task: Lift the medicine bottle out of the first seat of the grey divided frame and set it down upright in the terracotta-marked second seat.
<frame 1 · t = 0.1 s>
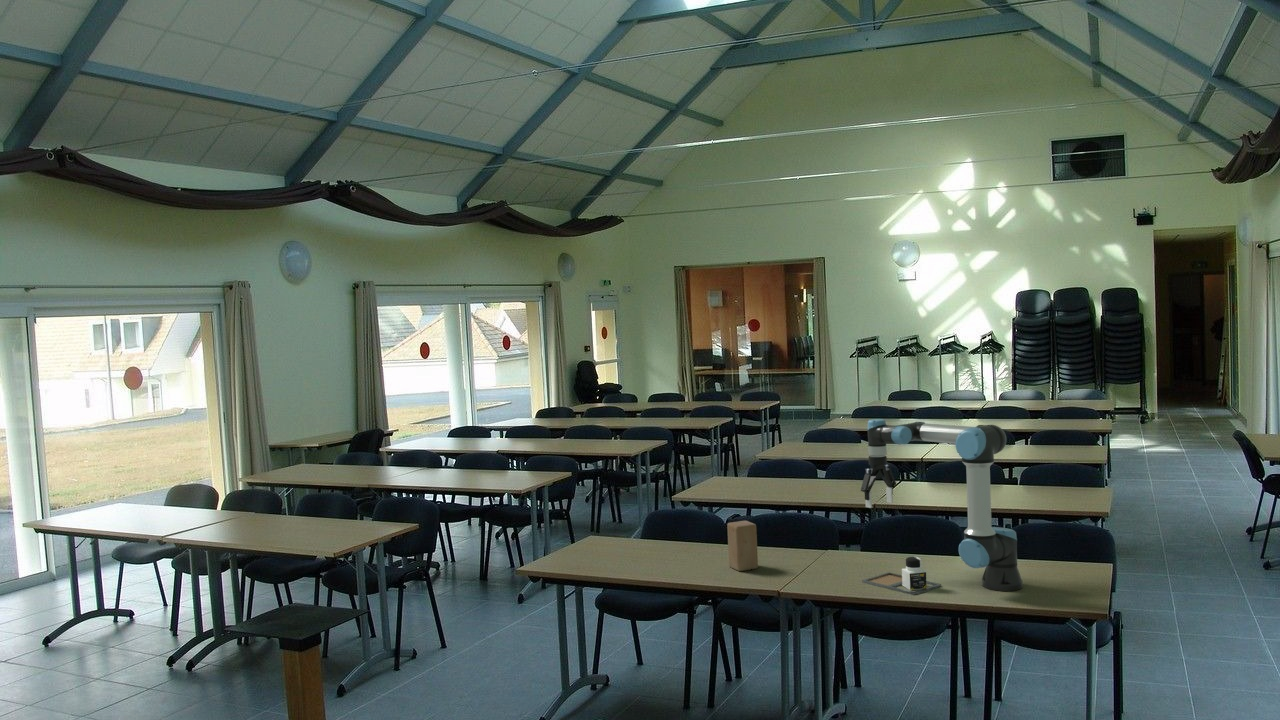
hand: (879, 505, 416), 28 cm above the table, fingers open, 13 cm apart
wooden block: (743, 568, 430), on the table
medicine bottle: (914, 587, 389), resting in grey divided frame
grey divided frame: (901, 584, 395), on the table
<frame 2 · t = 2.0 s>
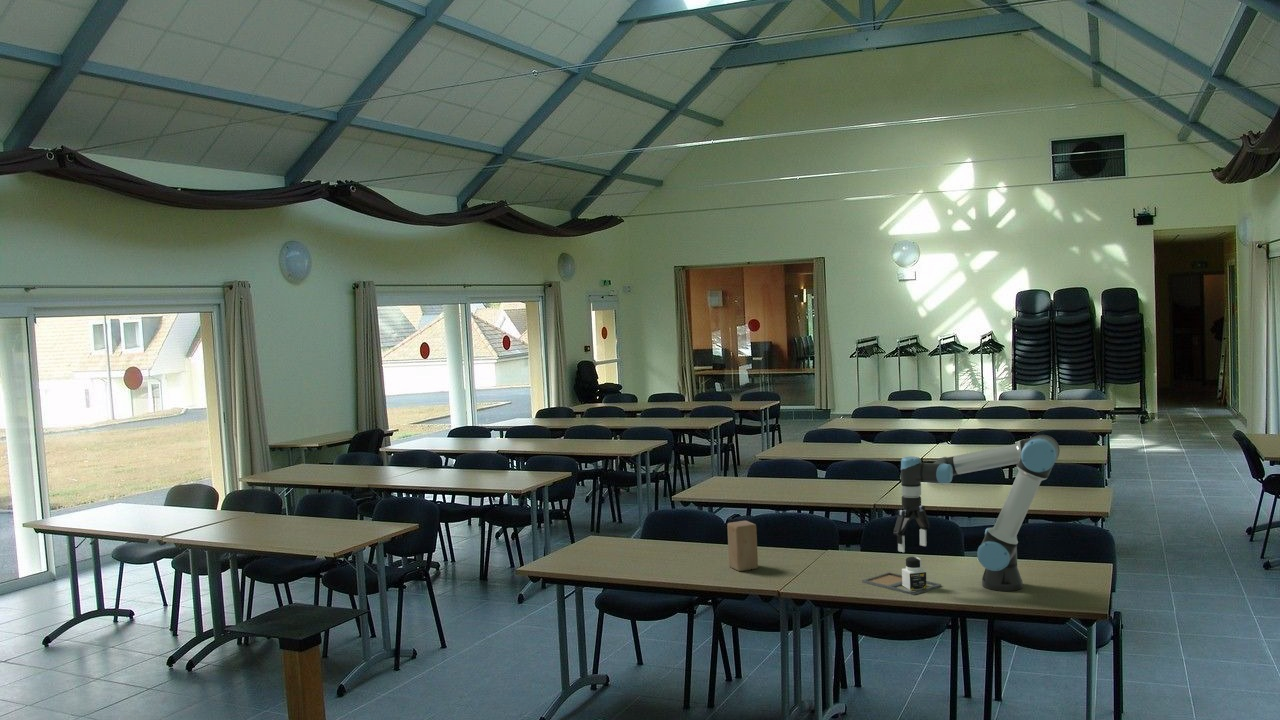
hand: (912, 548, 389), 16 cm above the table, fingers open, 13 cm apart
nothing on the table moved.
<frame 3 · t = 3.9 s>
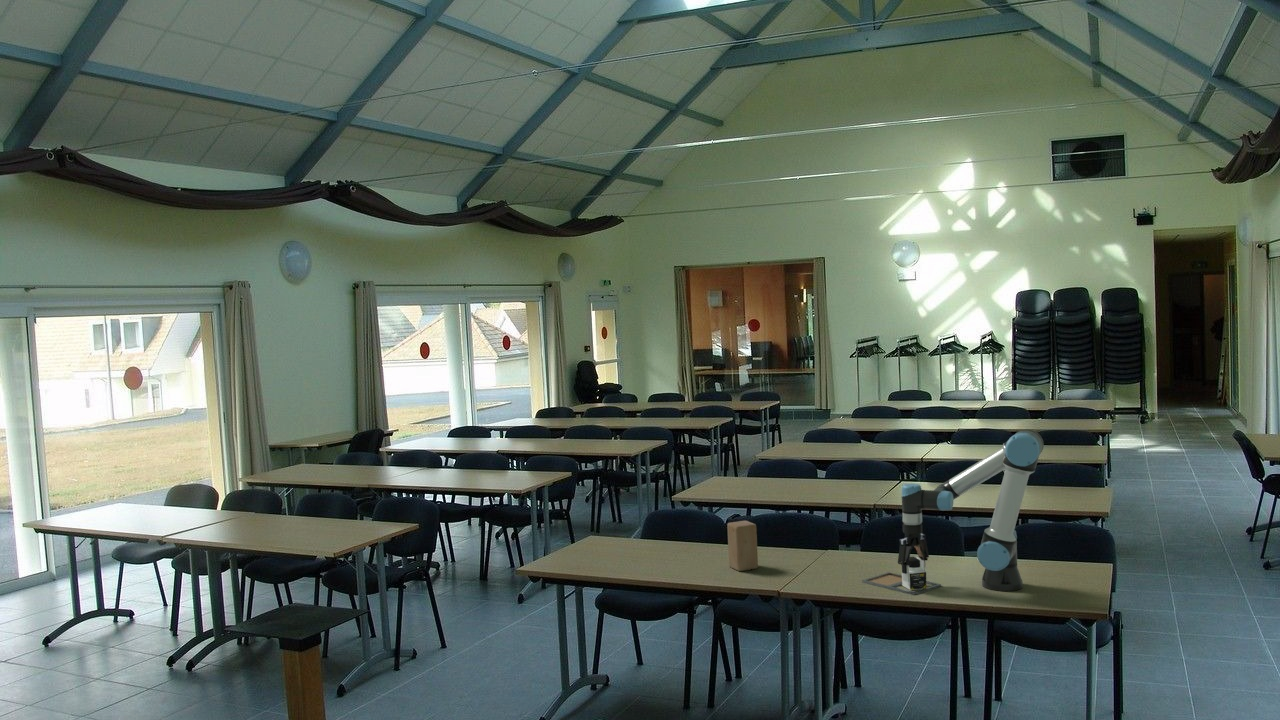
hand: (914, 578, 389), 4 cm above the table, fingers closed on medicine bottle, 9 cm apart
medicine bottle: (914, 587, 389), resting in grey divided frame, touching gripper
everything else where it was.
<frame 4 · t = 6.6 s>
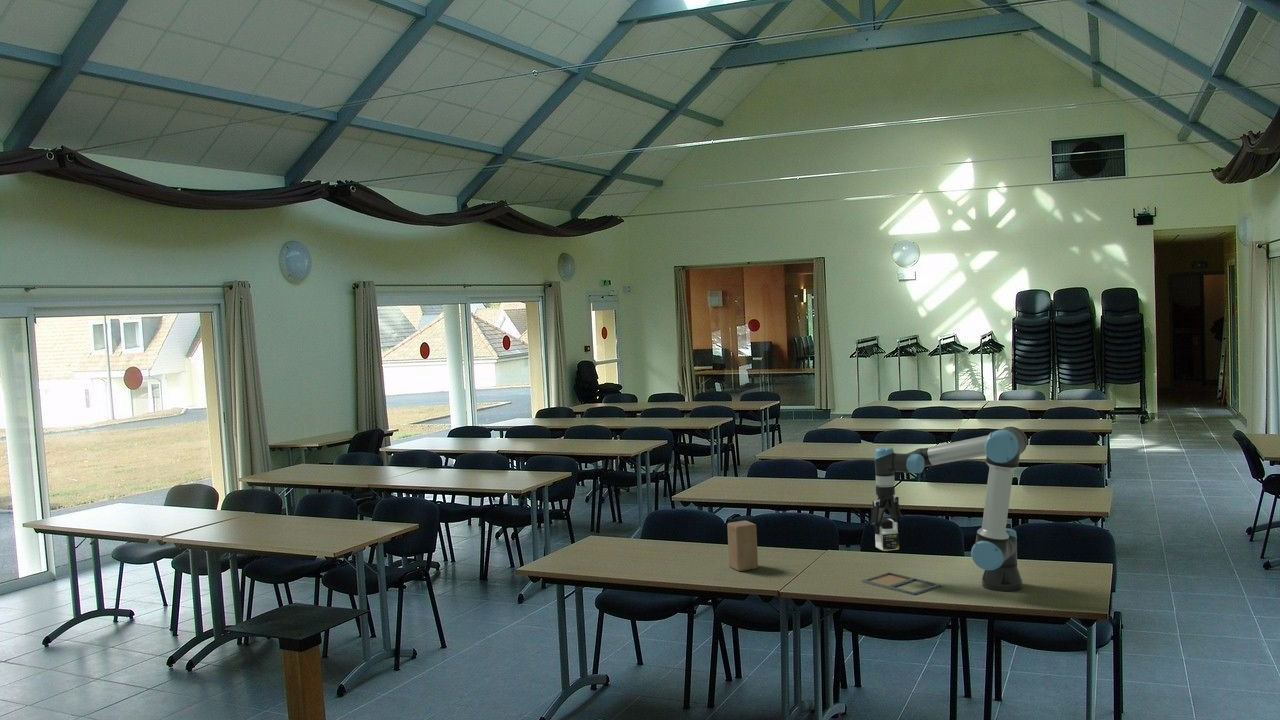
hand: (886, 539, 399), 17 cm above the table, fingers closed on medicine bottle, 9 cm apart
medicine bottle: (887, 548, 399), point 13 cm above the table, touching gripper
everything else where it was.
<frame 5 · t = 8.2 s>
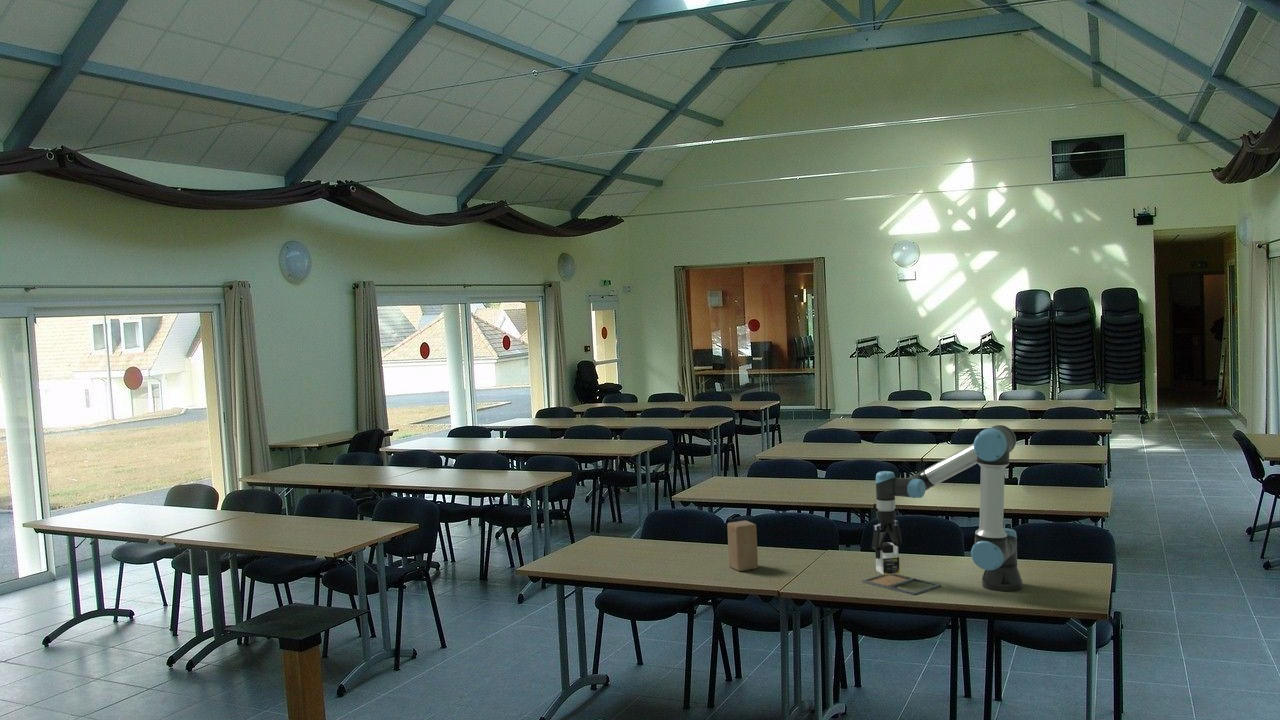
hand: (887, 563, 399), 7 cm above the table, fingers closed on medicine bottle, 9 cm apart
medicine bottle: (887, 572, 400), point 3 cm above the table, touching gripper
everything else where it was.
when the fingers open (5 cm above the table, at t = 9.6 s): medicine bottle stays where it is, resting on grey divided frame.
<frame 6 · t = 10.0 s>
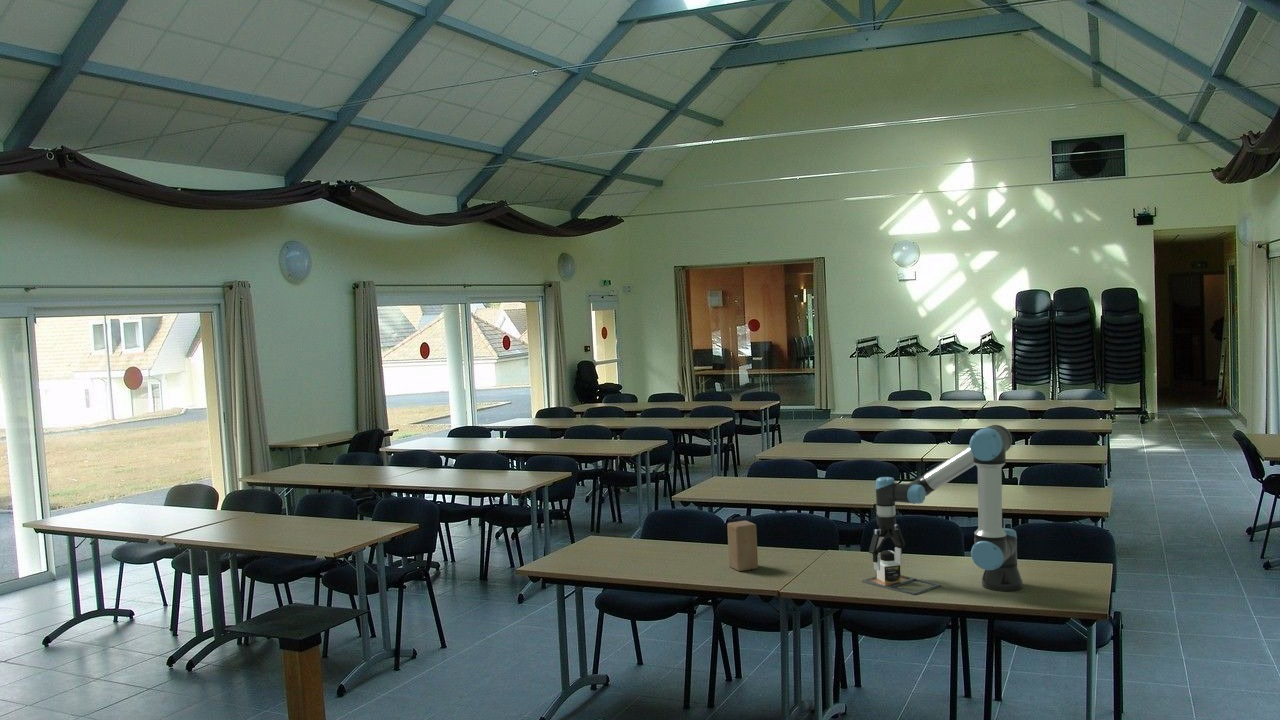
hand: (887, 566, 399), 6 cm above the table, fingers open, 13 cm apart
medicine bottle: (888, 580, 400), resting on grey divided frame
everything else where it was.
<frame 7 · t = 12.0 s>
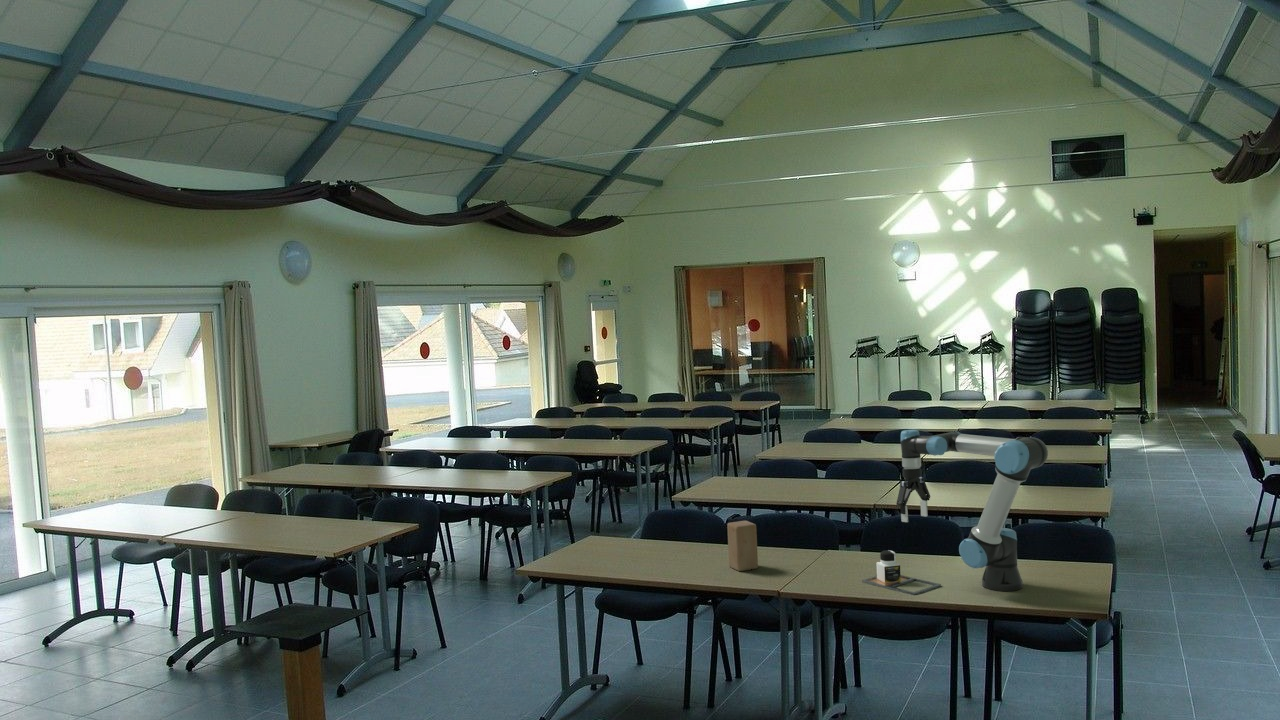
hand: (914, 518, 402), 25 cm above the table, fingers open, 13 cm apart
nothing on the table moved.
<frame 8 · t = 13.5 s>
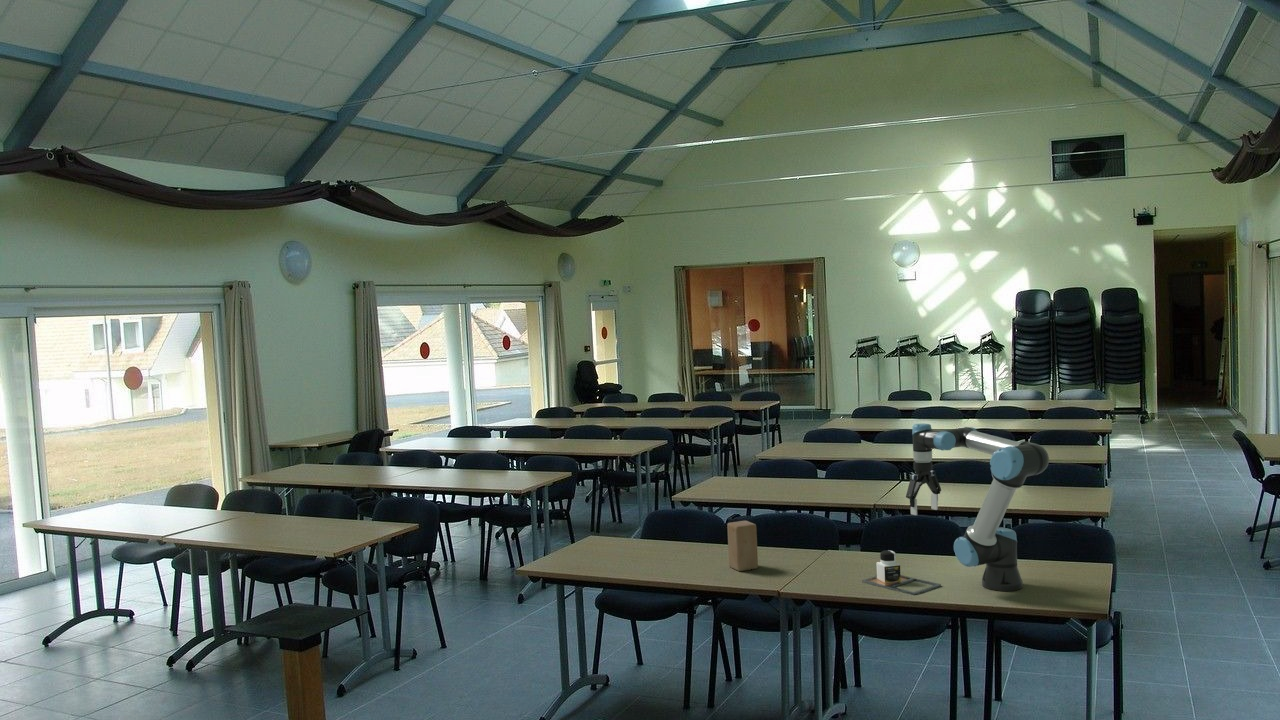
hand: (924, 512, 404), 27 cm above the table, fingers open, 13 cm apart
nothing on the table moved.
at the end: medicine bottle 0.2 cm from the target spot on the grey divided frame, point 0.1 cm above the grey divided frame's base; medicine bottle tilted 0°; the gripper is holding nothing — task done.
